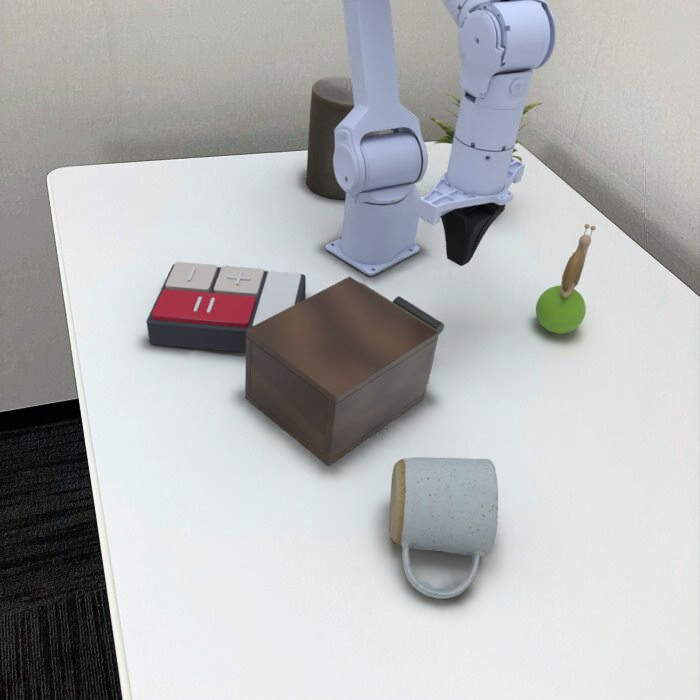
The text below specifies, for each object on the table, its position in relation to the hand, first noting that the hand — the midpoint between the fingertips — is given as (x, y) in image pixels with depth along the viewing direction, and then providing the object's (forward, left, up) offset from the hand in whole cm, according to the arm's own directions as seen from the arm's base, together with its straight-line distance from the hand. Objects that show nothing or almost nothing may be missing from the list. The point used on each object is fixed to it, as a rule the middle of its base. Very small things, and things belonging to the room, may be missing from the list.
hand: (457, 260), depth 81 cm
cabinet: (+17, 0, -9) cm, 19 cm away
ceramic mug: (+23, +18, -10) cm, 31 cm away
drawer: (+13, 0, -8) cm, 16 cm away
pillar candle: (-15, -31, -10) cm, 36 cm away
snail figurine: (-11, +8, -10) cm, 17 cm away
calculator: (+17, -16, -10) cm, 25 cm away
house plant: (-26, -15, -10) cm, 32 cm away
